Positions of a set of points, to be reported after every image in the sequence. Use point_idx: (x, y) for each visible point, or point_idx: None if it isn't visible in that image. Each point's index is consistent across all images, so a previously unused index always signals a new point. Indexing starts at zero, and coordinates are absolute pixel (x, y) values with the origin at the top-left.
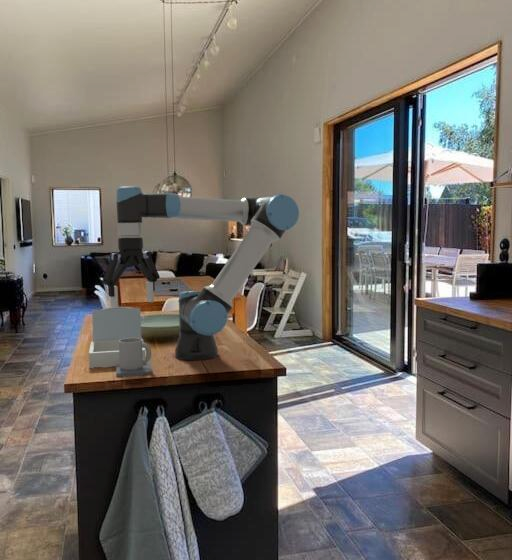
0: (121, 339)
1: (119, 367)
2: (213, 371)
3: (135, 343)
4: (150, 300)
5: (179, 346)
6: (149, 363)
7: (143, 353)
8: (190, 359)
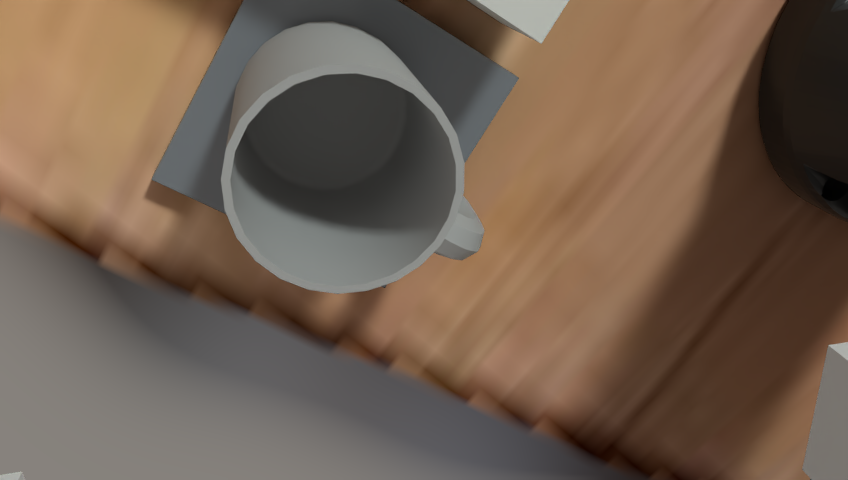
0: (294, 81)
1: (257, 34)
2: (653, 433)
3: (332, 288)
4: (827, 460)
5: (840, 70)
6: (495, 98)
7: (518, 29)
8: (772, 160)
